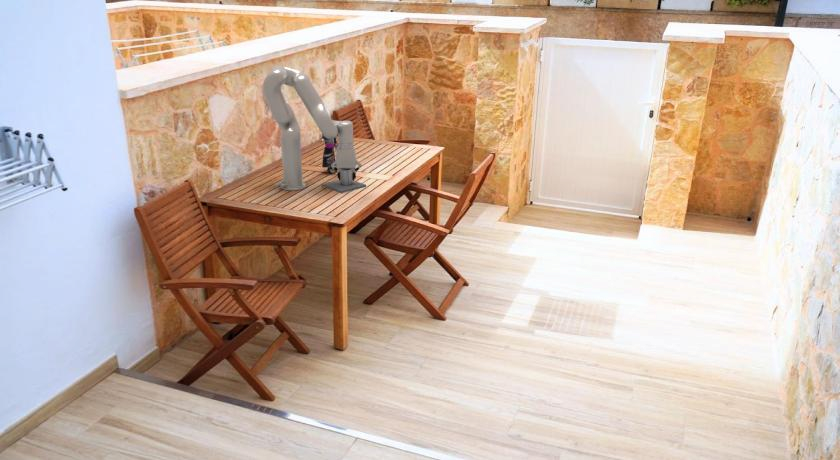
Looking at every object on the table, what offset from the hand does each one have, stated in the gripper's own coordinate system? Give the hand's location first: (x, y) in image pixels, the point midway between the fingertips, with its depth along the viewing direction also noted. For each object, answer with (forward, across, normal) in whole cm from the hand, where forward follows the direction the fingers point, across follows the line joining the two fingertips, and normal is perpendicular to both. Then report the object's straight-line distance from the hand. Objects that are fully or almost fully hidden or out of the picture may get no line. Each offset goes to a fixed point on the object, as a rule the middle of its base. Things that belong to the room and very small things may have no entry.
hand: (346, 179), depth 347 cm
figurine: (+3, -12, +20) cm, 24 cm away
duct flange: (+3, -1, -1) cm, 4 cm away
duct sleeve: (+1, 0, 0) cm, 1 cm away
